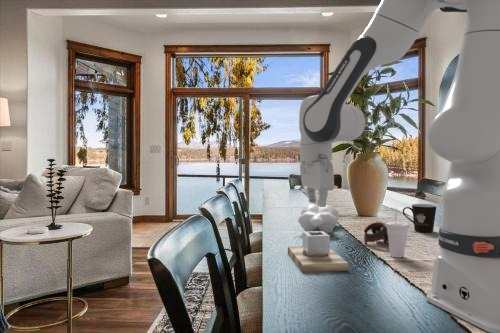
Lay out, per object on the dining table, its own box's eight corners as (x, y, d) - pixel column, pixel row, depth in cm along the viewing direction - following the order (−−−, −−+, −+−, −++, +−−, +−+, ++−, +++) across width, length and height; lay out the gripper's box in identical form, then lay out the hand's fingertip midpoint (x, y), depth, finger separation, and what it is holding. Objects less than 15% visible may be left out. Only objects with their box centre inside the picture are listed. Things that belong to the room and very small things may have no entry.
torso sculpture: (301, 227, 160) (294, 235, 130) (301, 203, 160) (294, 205, 131) (338, 229, 156) (339, 237, 127) (338, 204, 157) (339, 206, 128)
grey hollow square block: (329, 253, 100) (329, 235, 100) (308, 254, 99) (308, 236, 99) (323, 248, 106) (323, 231, 106) (302, 248, 105) (302, 231, 105)
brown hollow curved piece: (401, 249, 117) (392, 228, 115) (374, 260, 119) (364, 240, 117) (389, 231, 129) (380, 212, 127) (364, 242, 130) (355, 224, 128)
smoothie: (380, 254, 109) (381, 207, 109) (397, 252, 111) (398, 206, 111) (396, 260, 103) (396, 210, 103) (413, 258, 105) (414, 209, 105)
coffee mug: (441, 232, 139) (441, 206, 139) (424, 234, 136) (424, 207, 135) (417, 226, 150) (417, 202, 149) (400, 228, 147) (401, 203, 146)
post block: (348, 270, 94) (348, 239, 94) (302, 272, 93) (302, 241, 93) (326, 251, 112) (326, 226, 112) (287, 253, 111) (287, 227, 111)
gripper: (339, 153, 92) (341, 209, 92) (316, 155, 112) (317, 200, 112) (315, 154, 91) (316, 210, 91) (296, 155, 111) (297, 201, 111)
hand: (317, 204), depth 102 cm, fingers open, 8 cm apart
